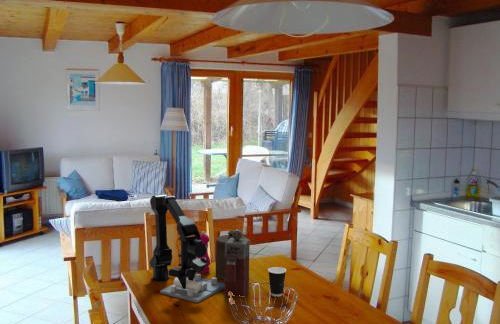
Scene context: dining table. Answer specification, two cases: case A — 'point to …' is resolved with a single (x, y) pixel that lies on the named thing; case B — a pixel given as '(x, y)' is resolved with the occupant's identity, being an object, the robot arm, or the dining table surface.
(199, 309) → the dining table surface
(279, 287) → the dixie cup
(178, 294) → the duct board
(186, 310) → the dining table surface
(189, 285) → the white cylinder
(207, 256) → the pepper mill
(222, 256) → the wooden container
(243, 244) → the dark jug
